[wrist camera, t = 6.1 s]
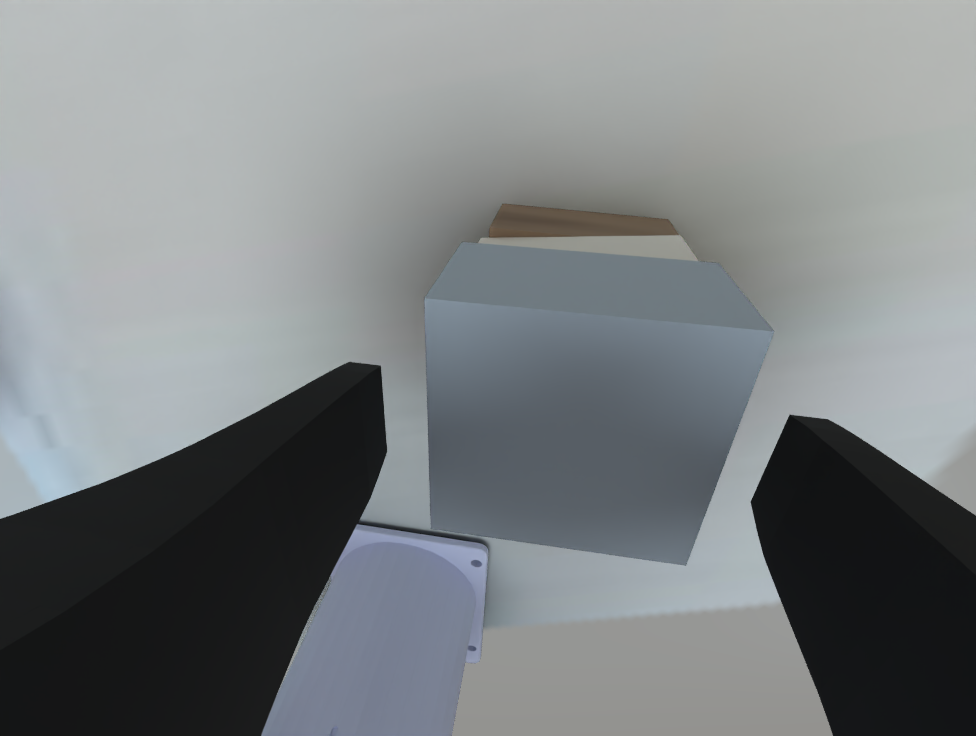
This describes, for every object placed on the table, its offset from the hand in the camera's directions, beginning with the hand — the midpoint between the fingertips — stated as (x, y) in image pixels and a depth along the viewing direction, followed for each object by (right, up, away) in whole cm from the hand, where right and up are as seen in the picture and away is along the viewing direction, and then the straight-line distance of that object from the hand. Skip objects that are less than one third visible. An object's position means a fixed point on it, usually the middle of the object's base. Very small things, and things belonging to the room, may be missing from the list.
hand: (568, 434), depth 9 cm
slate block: (0, +1, +2) cm, 2 cm away
